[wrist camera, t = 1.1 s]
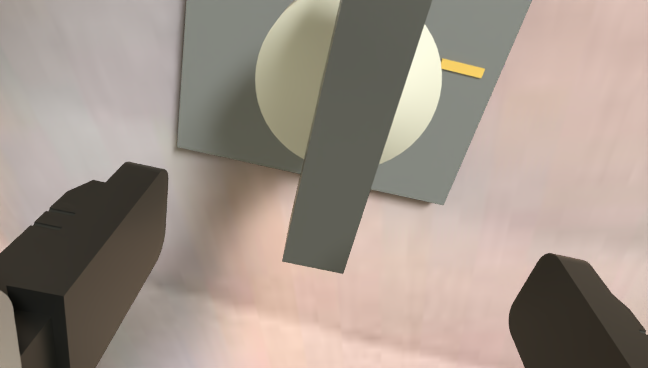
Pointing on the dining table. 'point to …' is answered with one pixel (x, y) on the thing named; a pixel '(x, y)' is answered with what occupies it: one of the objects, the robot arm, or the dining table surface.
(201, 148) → the post board
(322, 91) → the coupling
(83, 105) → the dining table surface
